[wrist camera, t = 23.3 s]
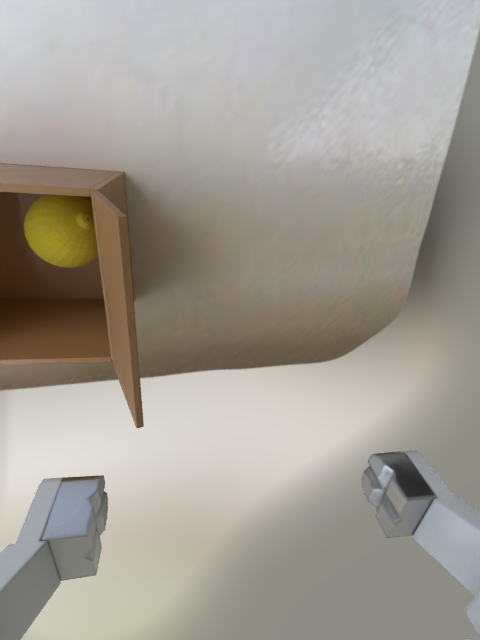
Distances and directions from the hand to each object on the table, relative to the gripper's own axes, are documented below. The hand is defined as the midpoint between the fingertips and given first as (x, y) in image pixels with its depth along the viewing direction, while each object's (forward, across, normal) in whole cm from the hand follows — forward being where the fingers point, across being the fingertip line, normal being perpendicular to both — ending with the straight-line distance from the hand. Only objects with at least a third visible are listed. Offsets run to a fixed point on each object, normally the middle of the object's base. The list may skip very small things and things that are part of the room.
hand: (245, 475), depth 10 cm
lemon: (+24, +12, 0) cm, 27 cm away
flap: (+11, +6, 0) cm, 12 cm away
